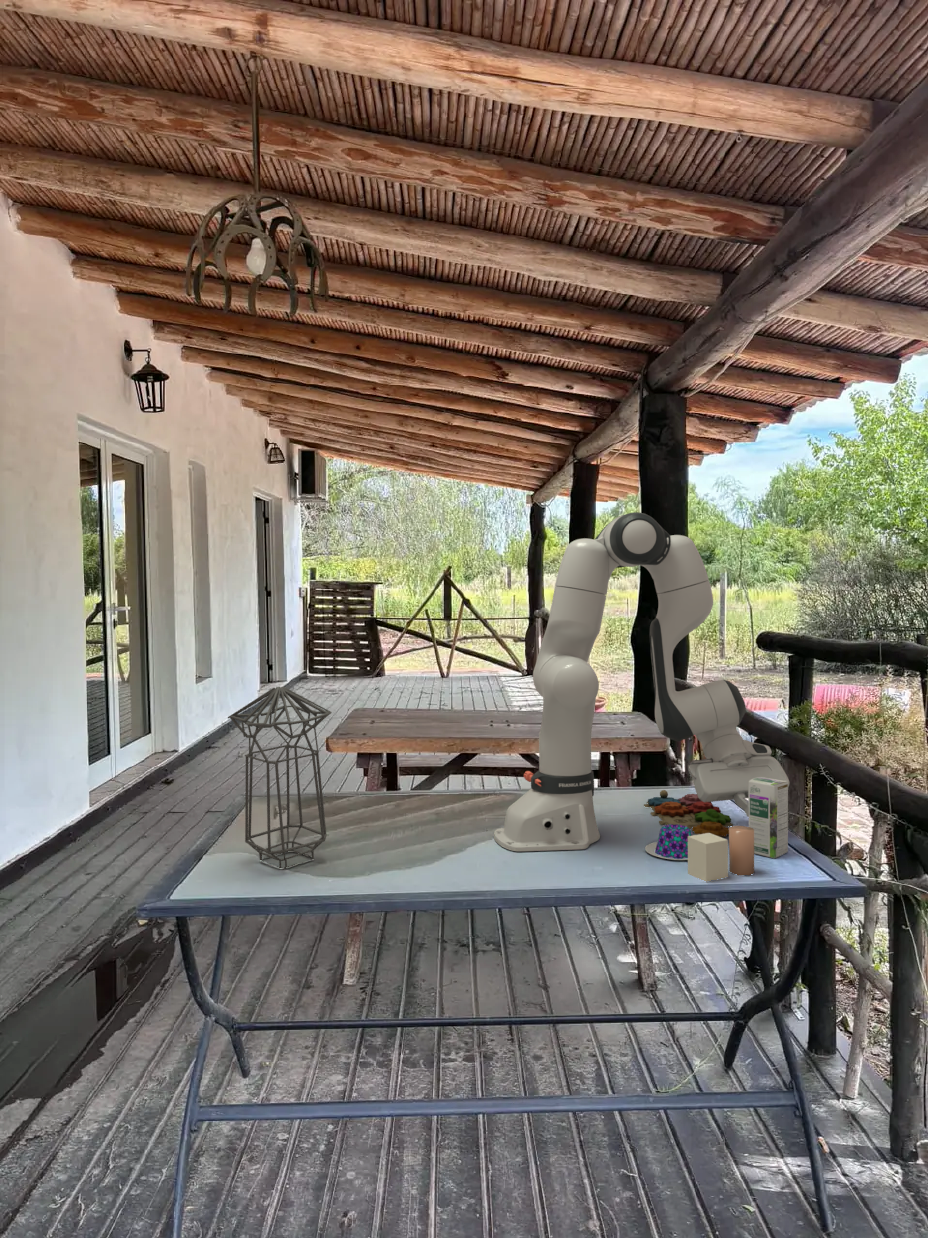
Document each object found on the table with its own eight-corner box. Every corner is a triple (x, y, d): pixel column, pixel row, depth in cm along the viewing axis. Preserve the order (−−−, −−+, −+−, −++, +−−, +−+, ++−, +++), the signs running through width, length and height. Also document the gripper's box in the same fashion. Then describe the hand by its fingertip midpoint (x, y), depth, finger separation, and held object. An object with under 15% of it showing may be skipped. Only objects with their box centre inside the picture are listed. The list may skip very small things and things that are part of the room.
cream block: (706, 882, 148) (706, 843, 148) (688, 874, 153) (687, 836, 152) (728, 878, 150) (727, 840, 150) (709, 869, 155) (709, 832, 154)
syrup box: (747, 852, 164) (746, 780, 163) (762, 846, 168) (761, 775, 167) (774, 859, 160) (774, 785, 159) (789, 852, 164) (788, 779, 163)
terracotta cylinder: (737, 877, 150) (737, 833, 150) (724, 869, 155) (724, 827, 154) (759, 874, 151) (759, 831, 151) (745, 867, 156) (745, 825, 155)
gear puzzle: (750, 841, 173) (750, 822, 173) (674, 843, 172) (673, 824, 172) (705, 803, 204) (705, 787, 204) (640, 804, 204) (640, 788, 203)
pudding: (647, 862, 160) (647, 836, 160) (642, 843, 172) (642, 818, 172) (711, 864, 158) (711, 837, 158) (702, 845, 170) (701, 820, 170)
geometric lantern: (341, 860, 164) (335, 685, 162) (272, 883, 153) (264, 695, 151) (297, 843, 175) (291, 679, 173) (229, 863, 164) (222, 688, 162)
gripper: (690, 752, 172) (716, 811, 163) (776, 745, 177) (806, 802, 168) (679, 769, 176) (704, 827, 167) (763, 762, 181) (792, 818, 172)
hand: (756, 814), depth 168 cm, fingers closed
